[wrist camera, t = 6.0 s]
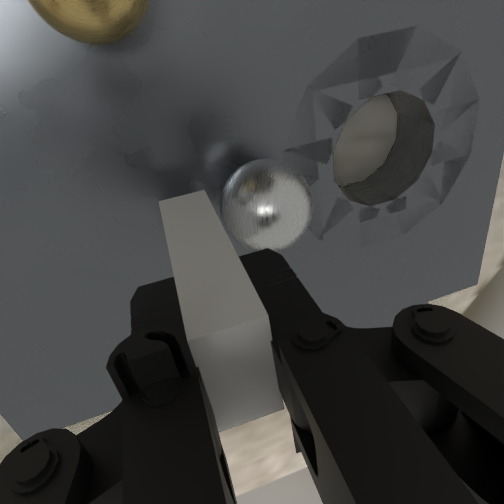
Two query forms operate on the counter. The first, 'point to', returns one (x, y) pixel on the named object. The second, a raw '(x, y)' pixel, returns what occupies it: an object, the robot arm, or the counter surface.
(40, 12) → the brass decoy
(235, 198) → the steel ball
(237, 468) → the counter surface
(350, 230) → the grey flat block
